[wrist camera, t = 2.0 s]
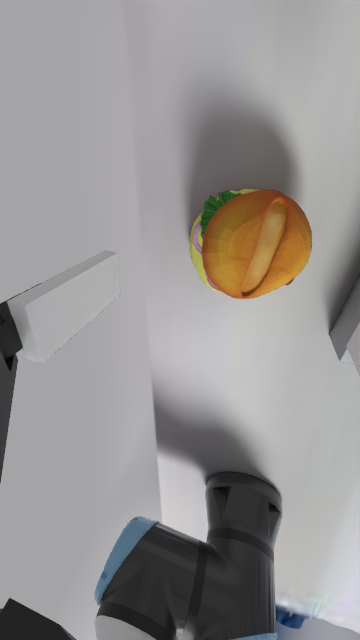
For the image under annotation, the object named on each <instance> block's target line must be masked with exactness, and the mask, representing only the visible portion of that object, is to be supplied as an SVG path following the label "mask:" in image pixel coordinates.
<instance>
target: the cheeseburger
mask: <svg viewBox="0 0 360 640" xmlns="http://www.w3.org/2000/svg"><path fill="white" fill-rule="evenodd" d="M311 249H312V232H311V228H310V225H309V222H308V220H307V218H306V215H305V213H304V212H303V210H302V209H301V208H300V207H299V205H298V204H297V203H296V202H295V201H294V200H292V199H291V198H289V197H288V196H286V195H284V194H283V193H281V192H279V191H275V190H256V189H242V190H240V191H237V192H236V191H233V190H231V191H226V192H223V193H220V192H219V197H218V198H217V199H215V198H214V197H212V196H211V195H210V199H209V200H208V201H206V202H205V204H204V211H203V212H202V213H201V214H200V215H199V216H198V218H197V219H196V220H195V221H194V223H193V226H192V230H191V236H190V256H191V259H192V262H193V264H194V266H195V268H196V269H197V271H198V273H199V276H200V278H201V279H202V281H203V282H204V283H205V284H206V285H207V286H208V287H209V288H211V289H213V290H214V291H216V292H220V293H225V294H227V295H229V296H231V297H233V298H238V299H249V298H255V297H258V296H261V295H263V294H266V293H269V292H271V291H273V290H275V289H278V288H279V287H281V286H283V285H288V284H290V283H291V282H292V281H293V280H294V277H296V276H297V275H298V274H299V273H301V271H302V270H303V268H304V267H305V265H306V264H307V263H308V260H309V256H310V253H311Z"/></svg>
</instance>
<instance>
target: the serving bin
mask: <svg viewBox="0 0 360 640" xmlns="http://www.w3.org/2000/svg"><path fill="white" fill-rule="evenodd" d="M359 323H360V274H359V276H358V278H357V280H356V282H355V284H354V286H353V288H352V290H351V292H350V294H349V296H348V298H347V300H346V302H345V304H344V306H343V308H342V310H341V312H340V314H339V316H338V318H337V320H336V322H335V324H334V326H333V328H332V330H331V332H330V334H329V336H330V338H331V341H332V343H333V346H334V348H335V351H336V353H337V356H338V358H339V361H341V362H345V363H349V364H353V365H355V364H354V362H353V360H352V358H351V355H350V353H349V351H348V349H347V347H346V345H347V343H348V342H349V340H350V338H351V337H352V335H353V333H354V331H355V330H356V328H357V326H358V324H359Z"/></svg>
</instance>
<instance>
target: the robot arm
mask: <svg viewBox="0 0 360 640" xmlns="http://www.w3.org/2000/svg"><path fill="white" fill-rule="evenodd" d="M119 296H120V288H119V268H118V253H116V252H110V251H104V252H102V253H100V254H98V255H96V256H94V257H92V258H90V259H88V260H86V261H84V262H82V263H81V264H78V265H76V266H75V267H73V268H71V269H69V270H67V271H65V272H63V273H61V274H59V275H57V276H55V277H53V278H51V279H49V280H47V281H45V282H43V283H40V284H38V285H36V286H34V287H32V288H31V289H28V290H26V291H24V292H23V293H21V294H18V295H16V296H14V297H12V298H10V299H8V300H7V301H5V302H3V303H1V304H0V482H1V475H2V468H3V461H4V454H5V447H6V439H7V433H8V426H9V419H10V412H11V404H12V398H13V391H14V383H15V377H16V370H17V363H18V359H17V356H16V353H17V352H18V351H19V350H21V349H22V348H23V350H24V353H25V356H26V359H27V360H31V361H34V362H37V363H41V364H43V363H44V362H45V361H46V360H47V359H48V358H49V357H51V356H52V355H53V354H54V353H55V352H56V351H58V350H59V349H60V348H61V347H62V346H63V345H64V344H65V343H67V342H68V341H69V340H70V339H71V338H72V337H74V336H75V335H76V334H77V333H78V332H79V331H80V330H82V329H83V328H84V327H85V326H86V325H87V324H88V323H90V322H91V321H92V320H93V319H94V318H95V317H96V316H97V315H99V314H100V313H101V312H102V311H103V310H104V309H106V308H107V307H108V306H109V305H110V304H111V303H112V302H114V300H116V299H117V298H118V297H119ZM346 347H347V349H348V351H349V353H350V355H351V358H352V360H353V362H354V364H355V366H356V368H357V371H358V373H359V375H360V323H359V324H358V326H357V328H356V330H355V331H354V333H353V335H352V337H351V338H350V340H349V342H348V343H347V345H346ZM205 497H206V507H207V517H208V536H207V542H206V543H205V542H202V541H200V540H198V539H195V538H193V537H191V536H188V535H186V534H184V533H181V532H179V531H177V530H174V529H172V528H170V527H168V526H166V525H163V524H161V523H160V522H159V521H153V520H150V519H147V518H144V517H140V516H139V517H135V518H133V519H132V520H131V521H130V522H129V523H128V524H127V526H126V527H125V528H124V530H123V532H122V533H121V535H120V537H119V538H118V540H117V542H116V544H115V546H114V548H113V550H112V552H111V553H110V556H109V558H108V560H107V562H106V564H105V567H104V571H103V572H102V574H101V577H100V579H99V581H98V584H97V587H96V590H95V600H96V602H97V604H98V605H99V606H100V608H99V611H98V613H97V616H96V619H95V628H96V636H97V640H276V639H277V633H276V614H275V582H274V545H275V541H276V537H277V534H278V530H279V526H280V522H281V518H282V500H281V497H280V495H279V494H278V493H277V492H276V490H275V489H273V488H272V487H271V486H270V485H268V484H267V483H265V482H263V481H261V480H259V479H257V478H254V477H252V476H249V475H245V474H240V473H232V472H225V473H218V474H215V475H213V476H212V477H210V478H209V480H208V482H207V487H206V493H205ZM0 640H76V639H75V638H74V637H73V636H72V635H71V634H70V633H68V632H67V631H66V630H65V629H64V628H63V627H62V626H60V625H59V624H57V623H56V622H54V621H52V620H50V619H48V618H46V617H44V616H42V615H41V614H39V613H37V612H35V611H33V610H31V609H29V608H28V607H26V606H24V605H22V604H20V603H18V602H16V601H15V600H12V599H11V598H9V600H8V602H7V603H6V605H5V607H4V608H3V609H0Z"/></svg>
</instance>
